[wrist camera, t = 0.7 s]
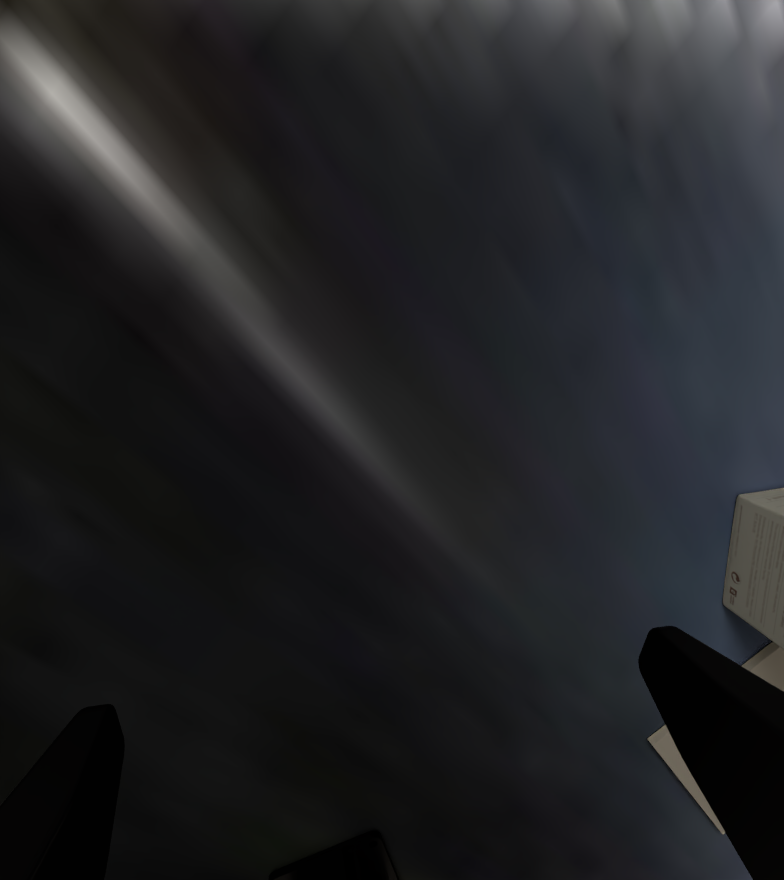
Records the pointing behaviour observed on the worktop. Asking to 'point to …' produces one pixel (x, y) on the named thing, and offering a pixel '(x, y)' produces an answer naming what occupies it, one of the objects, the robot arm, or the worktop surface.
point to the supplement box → (758, 563)
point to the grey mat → (767, 664)
